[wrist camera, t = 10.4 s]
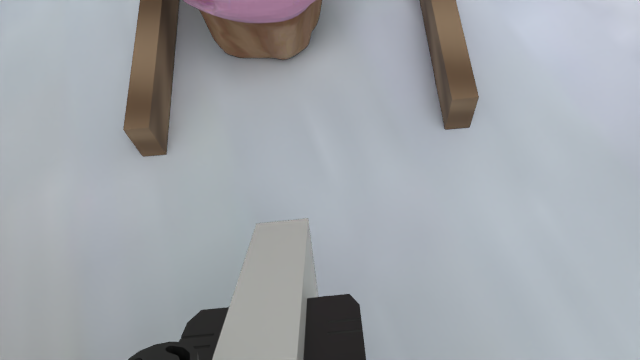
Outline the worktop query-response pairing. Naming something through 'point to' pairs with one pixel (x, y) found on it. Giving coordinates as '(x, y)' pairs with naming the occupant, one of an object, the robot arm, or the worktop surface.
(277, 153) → the worktop surface
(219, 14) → the cupcake
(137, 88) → the wooden flag stand
